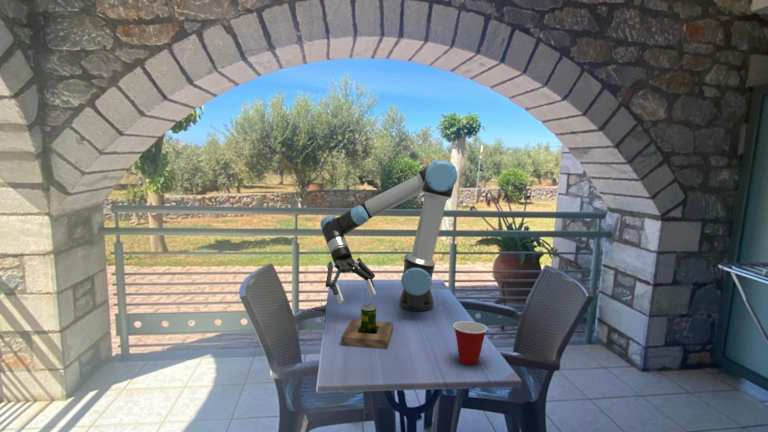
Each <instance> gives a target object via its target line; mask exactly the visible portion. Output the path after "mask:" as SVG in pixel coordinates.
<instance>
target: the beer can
mask: <svg viewBox="0 0 768 432" xmlns="http://www.w3.org/2000/svg"><path fill="white" fill-rule="evenodd" d="M360 320H361V333H370V334H376V321H377V306H376V304H375V303H373V302H365V303H362V304H361V307H360Z"/></svg>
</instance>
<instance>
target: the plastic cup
mask: <svg viewBox="0 0 768 432" xmlns="http://www.w3.org/2000/svg"><path fill="white" fill-rule="evenodd" d="M453 329H454V330H455V331H454V332H455V337H456V346H457V352H458V358H459V359H458V360H459V362H460V363H462V364H463V365H466V366H475V365H477V364H478V363H479V360H480V355H481V353H482V347H483V342H484V339H485V336H486V333H487V331H488V326H487V325H485V324H483V323H481V322H475V321H467V320H466V321H463V320H462V321H456V322H454V323H453Z"/></svg>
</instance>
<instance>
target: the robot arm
mask: <svg viewBox="0 0 768 432" xmlns="http://www.w3.org/2000/svg"><path fill="white" fill-rule="evenodd" d="M457 180H458V171H457V168H456V166H455V165H454V164H453V163H452V162H451V161H450V160H446V159H436V160H434V161H431V163H429V165H428V166H426V167H425V168H423V169H420V170H419V171H417V174H416V175H415V176H413V177H411V178H409V179H407V180H405V181H402V182H401V183H399V184H397V185H395V186H393V187H391V188H389V189H387V190H386V191H383V192H382V193H378V194H377V195H376V196H373V197H372V198H369V199H367V200H365V201H364V202H362V203H360V204H358V205H355V206H353V207H352V208H351V209H349V210H348V211H346V212H345V213H342V214H341V215H339V216H335V215H329V216H325V217H323V218H322V220H321V221H320V225H319V226H320V228H321V231H322V234H323V237H324V239H325V242H326V244H327V247H328V251H329V252H330V255H331V258H332V261H333V262H332V261H329V262H328V264H327V266H326V268H327V275H326V281H325V287H326V288H329V289H330V290H332V294H333V295H334V296H336V298H337V301H338V304H339V305H341V304H342V303H343V302H344V298H343V295H342V292H341V289H340V286H339V284H337V281H338V280H339V278H340V276H341V273H343V274H345V273H353V274H356V275H357V276H358V277H360V278H361V279H363V280H365V285H366V287H367V289H368V292H369V294H370V298H374V297H375V296H376V295H377V293H376V290H375V283H374V281H373V279H375V278H376V275H375V273H374V272H373V271H372V270H370V268H369V267H368V266H367V265H366V264H365V263H364V262H363V260H362V259H361V258H360V257H357V259H354V258H353V256H352V255H353V254H352V252H351V250H350V248H349V245H348V243H347V240H346V237H345V235H347V234H348V233H350V232H351V231H353V230H355V229H357V228H359V227H361V226H363V225H364V224H366V223H367V222H368V221H369V220H370V219H372V218H374V217H376V216H378V215H380V214H382V213H384V212H386V211H388V210H390V209H392V208H395V207H396V206H399V205H400V204H402V203H405V202H406V201H409V200H410V199H412V198H415V197H416V196H419V195H421V194H423V195H424V198H423V203H422V208H421V211H420V215H419V220H418V223H417V228H416V233H415V237H414V241H413V246H412V249H411V253H408V254H405V255H404V258H403V272H402V276H401V280H400V282H401V284H402V287H403V289H402V292H401V294H400V297H399V303H398V304H399V307H400V308H401V309H403V310H407V311H411V312H427V311H429V310H432V309H433V308H434V306H435V305H434V304H435V302H434V301H435V300H434V297H433V294H432V291H431V287H432V281H433V280H432V278H433V273H434V269H435V266H436V263H435V261H434V260H433V258H434V253H435V249H436V245H437V241H438V238H439V232H440V228H441V225H442V220H443V218H444V217H443V216H444V212H445V208H446V204H447V201H448V200H450V199H451V198H452V195H453V192H454V191H453V190H454V187H455V185H456V183H457ZM334 268H335V269H337V271H336V273H335V276H334V277H333V279H332V275H333V270H334Z"/></svg>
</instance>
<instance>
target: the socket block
mask: <svg viewBox="0 0 768 432" xmlns="http://www.w3.org/2000/svg"><path fill="white" fill-rule="evenodd" d="M393 332H394V322H393V321H380V320H379V321H378V320H376V334H370V333H361V319H350V321H349V323H348V325H347V327H346V328H345V330H344V332H343V333H342V335H341V340H340V342H341V346H346V347H348V346H349V347H359V348H360V347H361V348H370V349H371V348H374V349H386V350H388V347H389V344H390V341H391V338H392V335H393Z"/></svg>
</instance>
